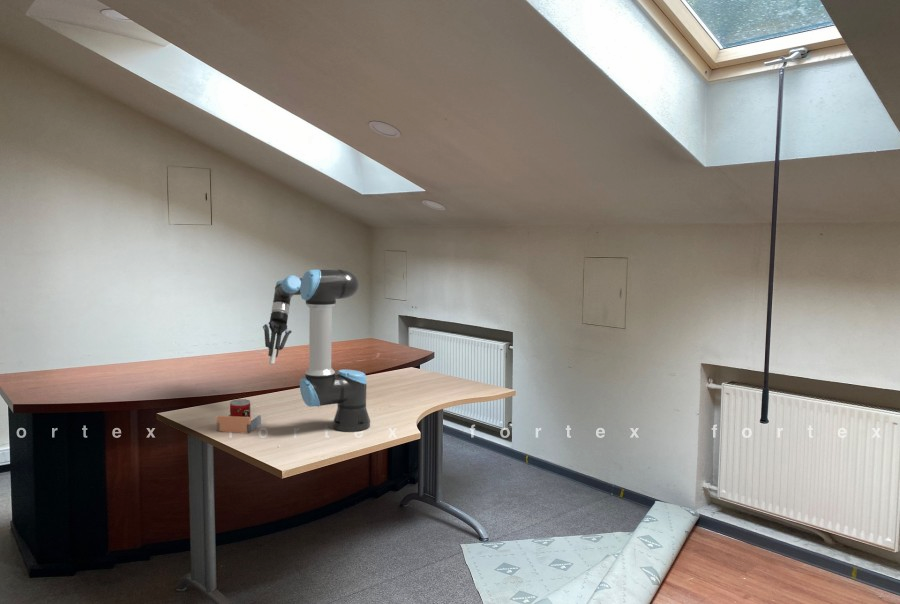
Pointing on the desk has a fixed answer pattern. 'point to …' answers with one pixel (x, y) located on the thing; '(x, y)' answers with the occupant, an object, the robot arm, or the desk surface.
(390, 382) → the desk surface
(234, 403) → the canned food
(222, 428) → the bracket
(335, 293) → the robot arm
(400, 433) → the desk surface
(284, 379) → the desk surface
